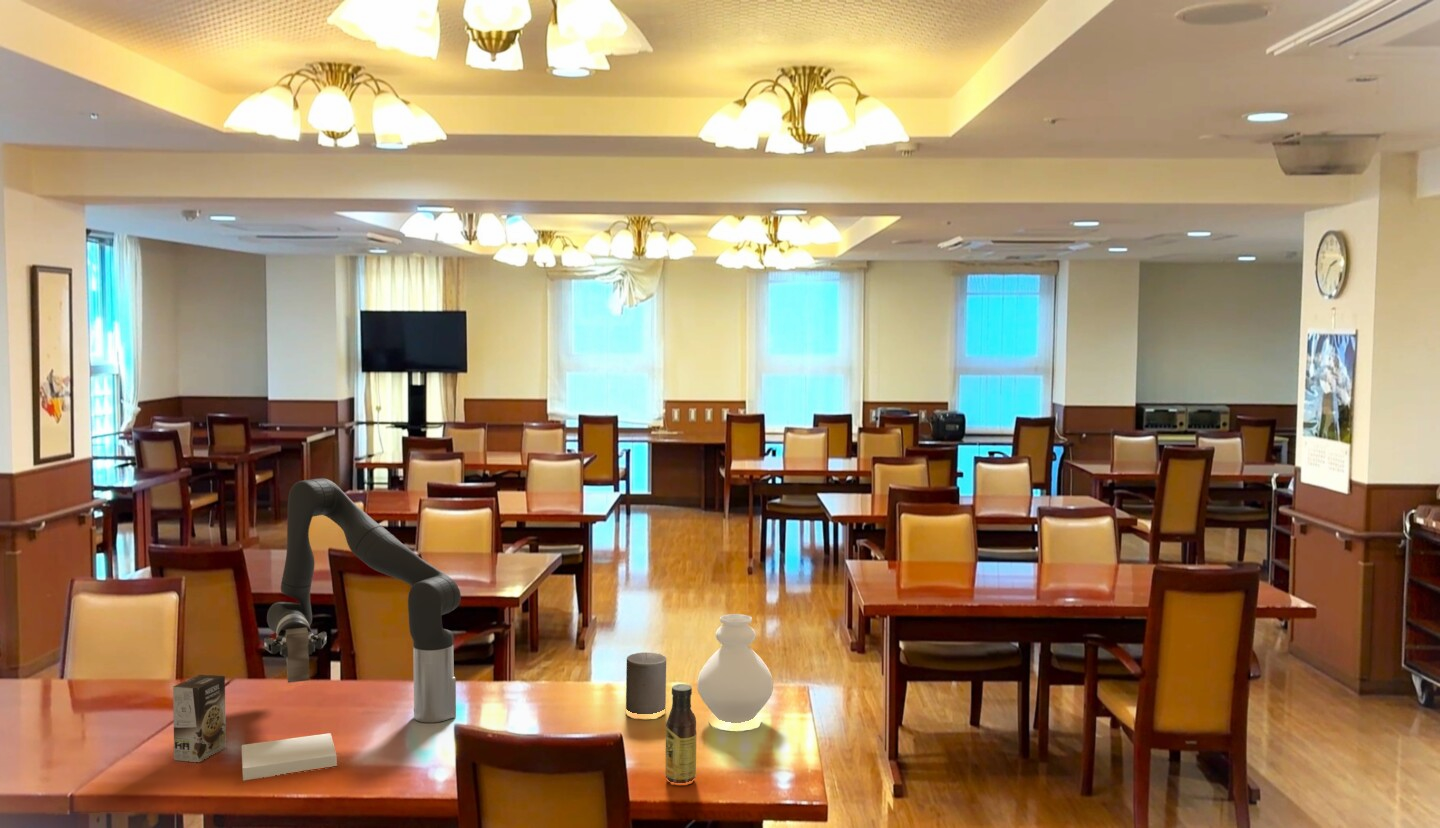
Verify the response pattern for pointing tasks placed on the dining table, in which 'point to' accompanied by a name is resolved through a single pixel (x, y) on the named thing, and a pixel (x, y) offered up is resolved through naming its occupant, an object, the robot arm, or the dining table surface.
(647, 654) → the pillar candle
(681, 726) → the sauce bottle
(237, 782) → the dining table surface
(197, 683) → the coffee box
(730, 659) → the decorative vase
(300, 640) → the column
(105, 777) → the dining table surface
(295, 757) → the base
